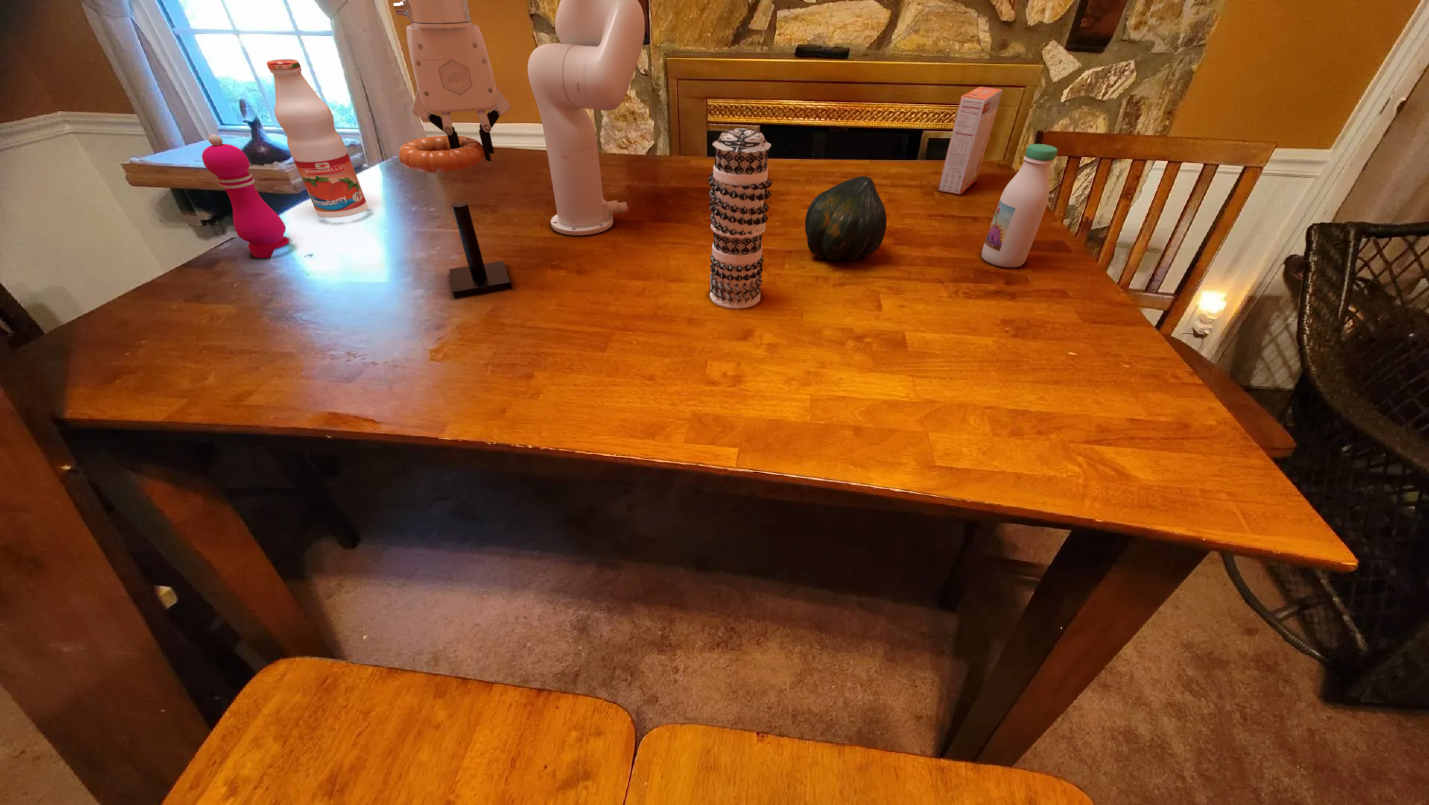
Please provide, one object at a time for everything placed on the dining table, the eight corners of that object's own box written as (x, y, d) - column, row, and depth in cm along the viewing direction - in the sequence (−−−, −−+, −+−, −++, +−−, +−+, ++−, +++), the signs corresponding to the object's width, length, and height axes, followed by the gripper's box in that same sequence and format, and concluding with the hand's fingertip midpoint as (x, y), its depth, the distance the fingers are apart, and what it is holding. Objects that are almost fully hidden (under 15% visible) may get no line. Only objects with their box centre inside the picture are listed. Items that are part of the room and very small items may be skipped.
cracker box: (953, 177, 144) (978, 85, 131) (976, 181, 141) (1005, 88, 128) (935, 191, 135) (960, 94, 122) (960, 196, 132) (988, 97, 119)
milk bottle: (1024, 255, 106) (1068, 144, 93) (1023, 272, 100) (1069, 155, 88) (981, 248, 108) (1018, 138, 96) (978, 263, 103) (1017, 149, 90)
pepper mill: (273, 261, 99) (211, 141, 86) (239, 257, 100) (172, 138, 87) (304, 245, 104) (250, 130, 92) (271, 241, 106) (213, 127, 93)
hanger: (504, 266, 99) (486, 191, 90) (511, 288, 92) (493, 209, 84) (450, 275, 96) (427, 198, 88) (454, 298, 89) (429, 217, 81)
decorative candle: (723, 315, 87) (729, 144, 71) (697, 289, 93) (697, 128, 77) (773, 302, 90) (789, 137, 74) (745, 279, 96) (753, 122, 81)
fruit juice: (371, 205, 121) (315, 56, 104) (369, 220, 114) (308, 63, 97) (322, 210, 118) (256, 58, 101) (317, 226, 112) (245, 65, 94)
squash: (777, 221, 103) (833, 169, 91) (822, 205, 112) (878, 156, 100) (816, 286, 103) (877, 243, 91) (858, 265, 112) (918, 223, 100)
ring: (482, 150, 89) (478, 131, 87) (489, 170, 81) (484, 149, 79) (403, 156, 85) (397, 137, 84) (402, 178, 77) (395, 157, 75)
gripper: (368, 16, 67) (416, 172, 79) (507, 14, 73) (533, 161, 84) (371, 11, 73) (416, 158, 84) (501, 10, 78) (526, 149, 89)
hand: (474, 158), depth 84 cm, fingers closed on ring, 3 cm apart
